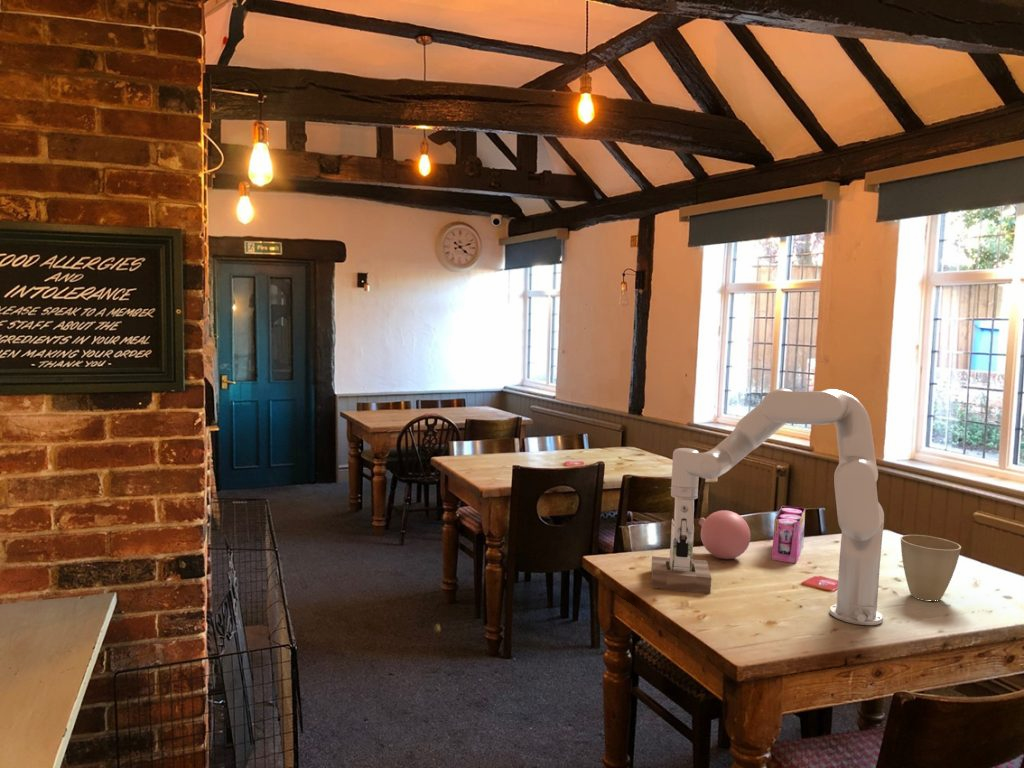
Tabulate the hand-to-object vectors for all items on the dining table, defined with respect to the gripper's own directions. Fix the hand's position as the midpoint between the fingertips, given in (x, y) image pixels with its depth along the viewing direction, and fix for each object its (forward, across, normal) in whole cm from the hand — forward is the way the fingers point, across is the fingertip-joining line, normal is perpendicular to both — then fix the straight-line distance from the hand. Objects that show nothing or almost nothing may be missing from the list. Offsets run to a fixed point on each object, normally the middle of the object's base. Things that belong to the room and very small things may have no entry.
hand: (681, 552), depth 221 cm
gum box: (+9, +40, -37) cm, 55 cm away
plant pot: (+9, +5, -68) cm, 69 cm away
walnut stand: (+9, 0, 0) cm, 9 cm away
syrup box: (+5, 0, 0) cm, 5 cm away
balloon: (+9, +30, -14) cm, 34 cm away
